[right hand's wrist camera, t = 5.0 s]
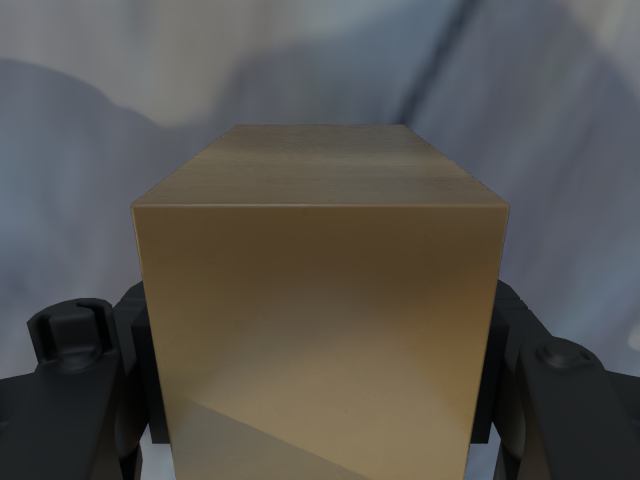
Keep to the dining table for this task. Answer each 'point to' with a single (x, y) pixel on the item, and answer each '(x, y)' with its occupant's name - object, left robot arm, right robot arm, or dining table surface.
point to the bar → (320, 304)
